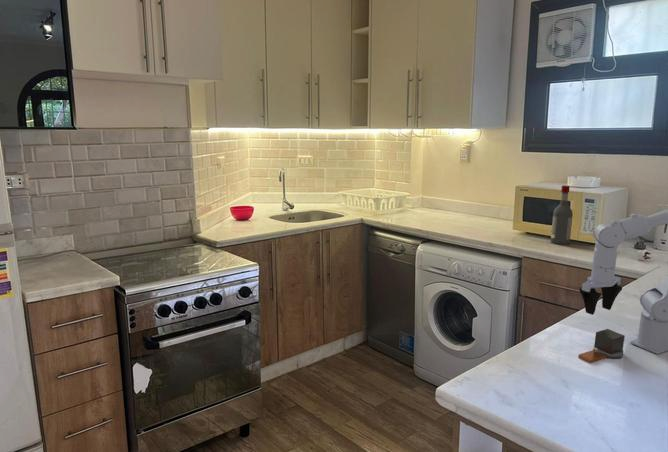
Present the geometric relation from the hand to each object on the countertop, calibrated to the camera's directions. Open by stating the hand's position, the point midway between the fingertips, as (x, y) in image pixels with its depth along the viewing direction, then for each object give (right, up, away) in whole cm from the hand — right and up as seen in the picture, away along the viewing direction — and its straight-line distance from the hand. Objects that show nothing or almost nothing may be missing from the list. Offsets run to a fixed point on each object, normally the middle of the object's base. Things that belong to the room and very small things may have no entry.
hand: (598, 311), depth 143 cm
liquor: (+43, +16, +117) cm, 126 cm away
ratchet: (-3, -11, -7) cm, 13 cm away
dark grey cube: (0, -10, -6) cm, 11 cm away
